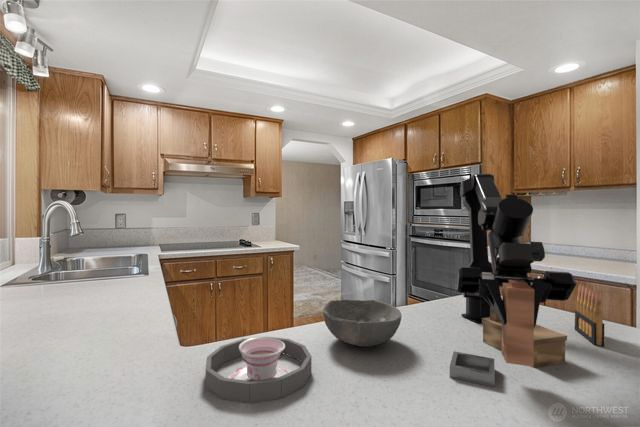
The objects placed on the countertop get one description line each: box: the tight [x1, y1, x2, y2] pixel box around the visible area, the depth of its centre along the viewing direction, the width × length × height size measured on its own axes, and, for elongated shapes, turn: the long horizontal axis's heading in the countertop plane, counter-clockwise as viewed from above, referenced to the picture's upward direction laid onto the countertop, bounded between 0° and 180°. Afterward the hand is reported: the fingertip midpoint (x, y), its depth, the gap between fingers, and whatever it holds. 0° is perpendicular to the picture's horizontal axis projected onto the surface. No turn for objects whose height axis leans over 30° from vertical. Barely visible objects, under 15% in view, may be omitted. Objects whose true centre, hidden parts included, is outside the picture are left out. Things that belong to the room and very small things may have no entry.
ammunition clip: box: [574, 283, 605, 347], centre depth 79 cm, size 11×2×12 cm, turn 162°
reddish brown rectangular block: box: [501, 280, 534, 368], centre depth 58 cm, size 4×4×14 cm
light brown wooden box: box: [482, 323, 566, 369], centre depth 71 cm, size 13×8×4 cm, turn 17°
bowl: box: [322, 299, 402, 347], centre depth 76 cm, size 18×18×8 cm
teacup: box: [226, 336, 294, 381], centre depth 59 cm, size 12×12×6 cm
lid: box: [482, 307, 568, 345], centre depth 71 cm, size 13×8×4 cm, turn 17°
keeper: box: [449, 350, 496, 388], centre depth 61 cm, size 7×7×2 cm
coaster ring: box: [205, 336, 312, 404], centre depth 61 cm, size 19×19×3 cm
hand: (519, 325), depth 57 cm, fingers closed on reddish brown rectangular block, 4 cm apart
